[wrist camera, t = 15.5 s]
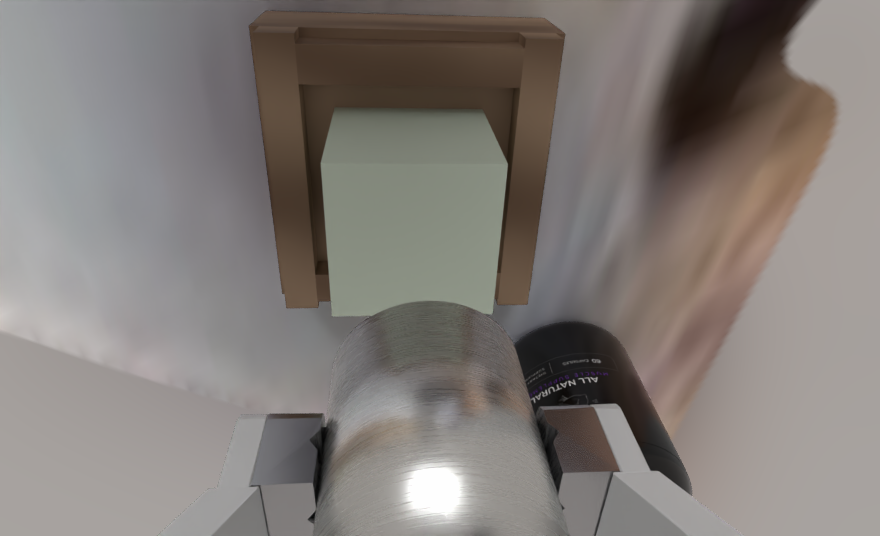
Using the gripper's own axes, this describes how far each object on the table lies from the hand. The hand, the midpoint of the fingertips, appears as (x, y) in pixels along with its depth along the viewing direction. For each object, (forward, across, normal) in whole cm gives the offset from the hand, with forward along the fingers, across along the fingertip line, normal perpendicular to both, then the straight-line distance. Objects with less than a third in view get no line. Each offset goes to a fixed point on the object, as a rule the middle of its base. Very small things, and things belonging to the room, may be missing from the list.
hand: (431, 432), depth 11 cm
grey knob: (+2, 0, 0) cm, 2 cm away
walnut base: (+15, 0, 0) cm, 15 cm away
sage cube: (+12, 0, 0) cm, 12 cm away
